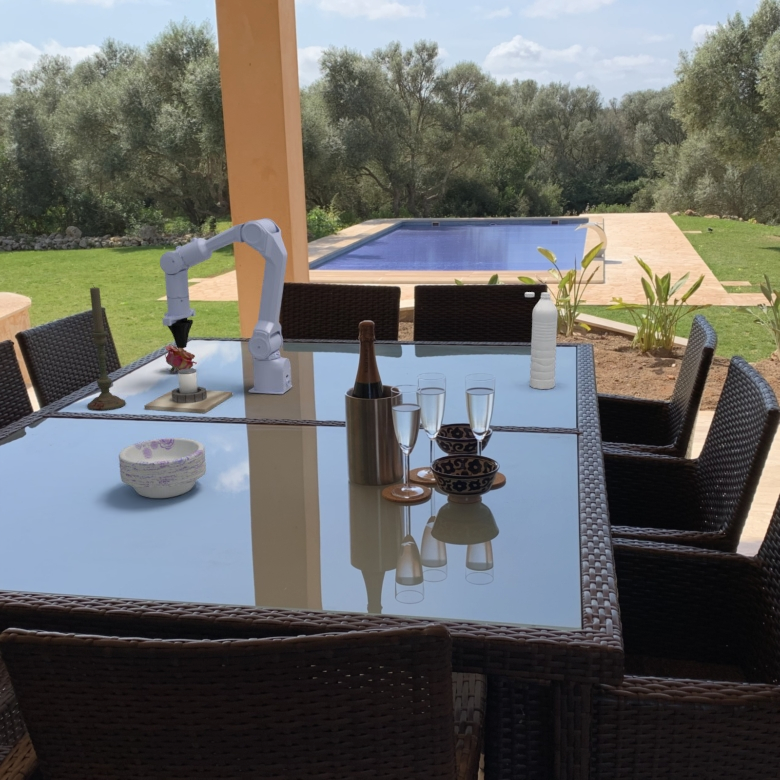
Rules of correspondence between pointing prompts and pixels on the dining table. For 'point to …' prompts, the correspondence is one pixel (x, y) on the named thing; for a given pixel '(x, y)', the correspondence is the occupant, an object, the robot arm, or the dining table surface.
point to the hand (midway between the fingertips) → (181, 347)
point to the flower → (179, 358)
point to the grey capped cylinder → (187, 381)
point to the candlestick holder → (101, 360)
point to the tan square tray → (189, 401)
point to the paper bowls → (162, 466)
